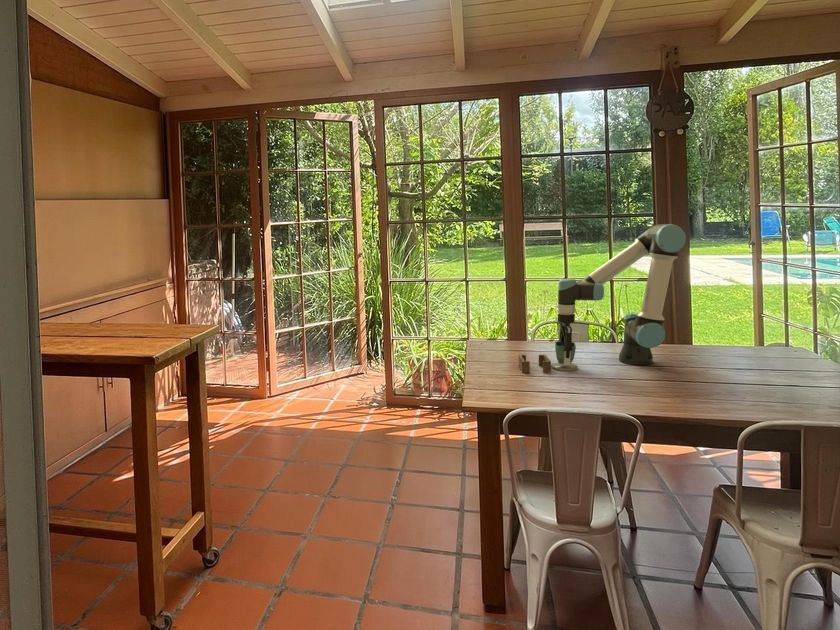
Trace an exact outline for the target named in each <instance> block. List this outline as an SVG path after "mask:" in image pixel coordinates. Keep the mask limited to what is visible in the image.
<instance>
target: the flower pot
mask: <svg viewBox="0 0 840 630" xmlns="http://www.w3.org/2000/svg"><path fill="white" fill-rule="evenodd" d="M568 348H569V347H568ZM564 349H565V344H564V342H559V341H554V350H555V355H556V360H557V363H559V364H564V351H563V350H564ZM576 350H577V346H576V342H573V341H572V351H571V355H570V364H573V361H574V358H575V354H576Z"/></svg>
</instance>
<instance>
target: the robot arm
mask: <svg viewBox="0 0 840 630" xmlns="http://www.w3.org/2000/svg"><path fill="white" fill-rule="evenodd" d="M686 239H687V237H686V233H685V231H684V230H683V229H682V228H681V226H678V225H676V224H673V223H657V224H655V225H653V226H651V227H649V228H648V229H647V230H645V231H643V233H642V234H640V235H639V236H638V237H635V239H634V242H633V243H631V244H630V245H629V246H627V247H626V248H625V249H623V250H622V251H620V252H619V253H618V254H616V255H615V256H613V257H612V258H611V259H609V260H608V261H607V262H605V263H603V264H602V265H601V266H599V267H598V268H597V269H595V270H594V271H593V272H591V273H589V274H588V275H587V276H585V277H584V278H582V279H579V280H576V279H574V278H561V279H560V280H559V281H558V288H557V292H558V293H557V294H558V295H557V306H556V309H557V322H558V323H559V338H558V342H564V344H565V349H564V350H563V351H564V365H570V355H571V351H572V342H573V340H572V338H573V336H572V335H573V328H572V326H571V324H573V323H575V322H576V302H577V301H594V302H596V301H602V300H603V299H604V298H605V287H604V285H605V284H607V283H608V282H609V281H611V280H612V279H614V278H615V277H617V276H618V275H619V274H620V273H623V271H625V270H626V269H628V268H629V267H630V266H632V265H634V264H635V263H636V262H638V261H639V260H640V259H642V258H644V257H648V256H650V258H651V260H650V265H649V270H648V275H647V280H646V285H645V291H644V296H643V299H642V305H641V310H640V312H637V313H636V312H634V313H632V312H631V313H626V314H625V315H624V316H625V317H624V328H623V345H622V346H621V347H622V348H621V350H620V351H619V354H618V361H619V362H621V363H623V364H627V365H628V364H629V365H638V366H647V364H648V365H651V363H652V364H653V363H654V355H653V352H652V349H654V348H656V347H658V346H660V345H661V344H662V343H663V342H664V340H665V338H666V331H665V328H664V324H665V321H666V320H665V317H664V316H663V310H664V307H665V301H666V296H667V292H668V287H669V284H670V283H669V282H670V277H671V273H672V269H673V263H674V260H677V259H678V258H679V255H680V250H681V249H682V248H684V246H685V244H686ZM568 347H569V348H568Z"/></svg>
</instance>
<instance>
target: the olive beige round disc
mask: <svg viewBox="0 0 840 630" xmlns="http://www.w3.org/2000/svg"><path fill="white" fill-rule="evenodd" d="M578 366H579V365H577V364H575V363H571V364H570V365H564V364H559V362H554V363H551V369H552V370H554V371H560V372H575V371H577V370H579V367H578Z"/></svg>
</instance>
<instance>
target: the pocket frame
mask: <svg viewBox="0 0 840 630" xmlns="http://www.w3.org/2000/svg"><path fill="white" fill-rule="evenodd" d="M530 362H531V361H530V360H527V354H518V367H519V369H520V371H521V373H528V374H529V373H530V371H531V369H530V368H531V366H530V364H531V363H530ZM551 364H552V361H551V359H550V358H549V356H548V355H547V354H538V367H542V373H543V374H544V373H545V374H547V373H551V371H552V370H551V369H552V368H551Z"/></svg>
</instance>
